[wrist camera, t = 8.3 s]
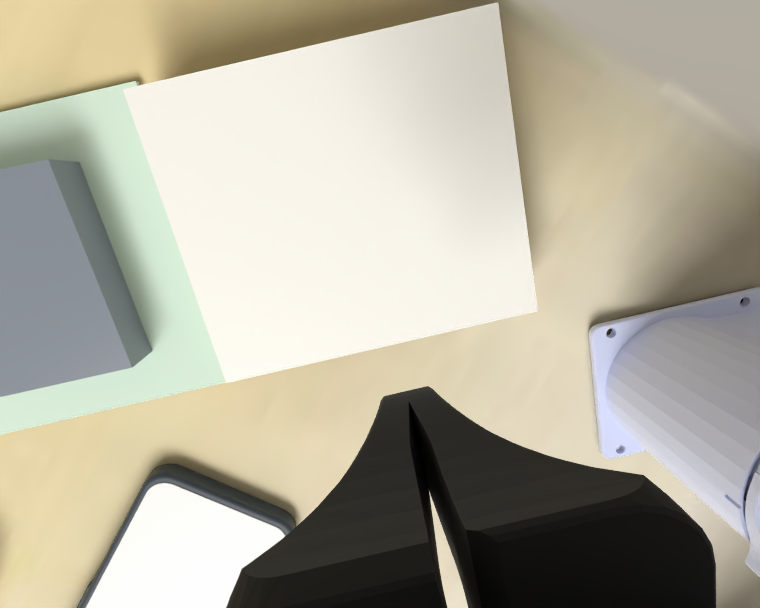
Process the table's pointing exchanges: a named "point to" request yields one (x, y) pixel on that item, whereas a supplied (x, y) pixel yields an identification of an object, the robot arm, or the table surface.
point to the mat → (132, 249)
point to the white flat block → (345, 191)
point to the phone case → (184, 543)
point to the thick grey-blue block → (59, 283)
